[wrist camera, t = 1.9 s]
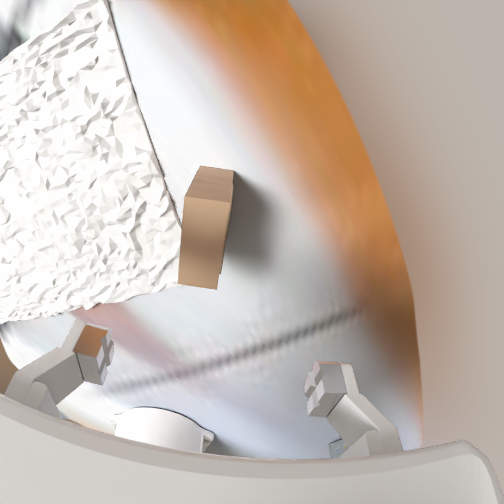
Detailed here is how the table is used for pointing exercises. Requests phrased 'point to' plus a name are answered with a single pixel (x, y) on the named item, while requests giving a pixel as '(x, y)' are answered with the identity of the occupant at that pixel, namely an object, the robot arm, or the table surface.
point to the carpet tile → (78, 176)
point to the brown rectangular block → (205, 227)
